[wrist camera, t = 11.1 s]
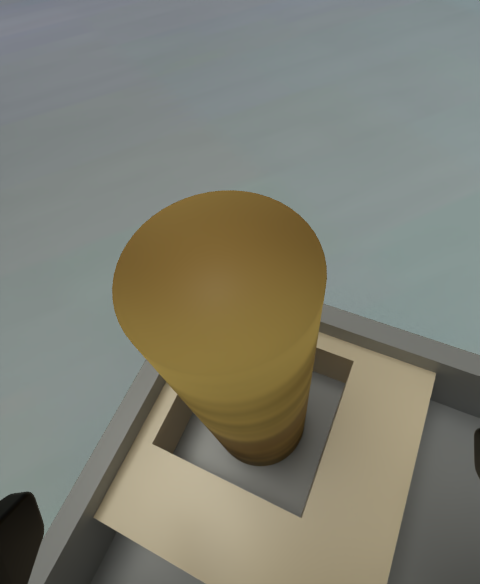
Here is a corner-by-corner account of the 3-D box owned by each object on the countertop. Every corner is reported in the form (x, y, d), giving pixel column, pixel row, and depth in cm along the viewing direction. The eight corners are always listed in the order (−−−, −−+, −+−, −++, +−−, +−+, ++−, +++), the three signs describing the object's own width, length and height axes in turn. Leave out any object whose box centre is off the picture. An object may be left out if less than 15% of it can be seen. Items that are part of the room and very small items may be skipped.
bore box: (484, 987, 11) (607, 1282, 7) (41, 655, 16) (-53, 706, 11) (542, 431, 18) (624, 402, 13) (218, 313, 22) (201, 263, 18)
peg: (312, 459, 17) (351, 355, 6) (220, 472, 17) (107, 391, 7) (295, 370, 19) (303, 176, 8) (212, 382, 19) (115, 207, 9)
